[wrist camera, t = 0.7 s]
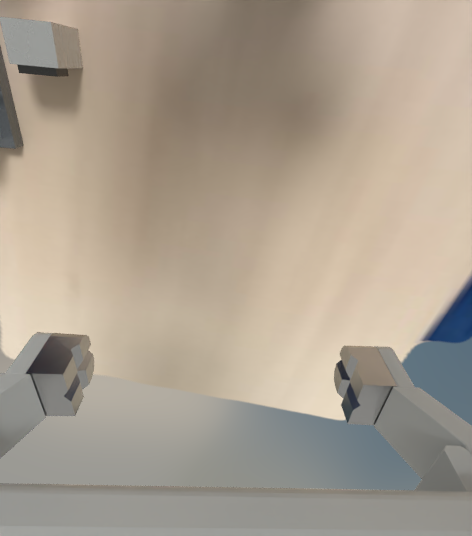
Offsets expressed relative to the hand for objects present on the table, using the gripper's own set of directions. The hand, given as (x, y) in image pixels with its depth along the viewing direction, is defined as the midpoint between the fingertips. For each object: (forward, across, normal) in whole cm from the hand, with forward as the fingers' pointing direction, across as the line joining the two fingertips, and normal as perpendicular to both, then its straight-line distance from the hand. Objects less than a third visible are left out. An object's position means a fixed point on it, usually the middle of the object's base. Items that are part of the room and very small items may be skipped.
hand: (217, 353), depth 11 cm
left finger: (+41, +21, -8) cm, 47 cm away
